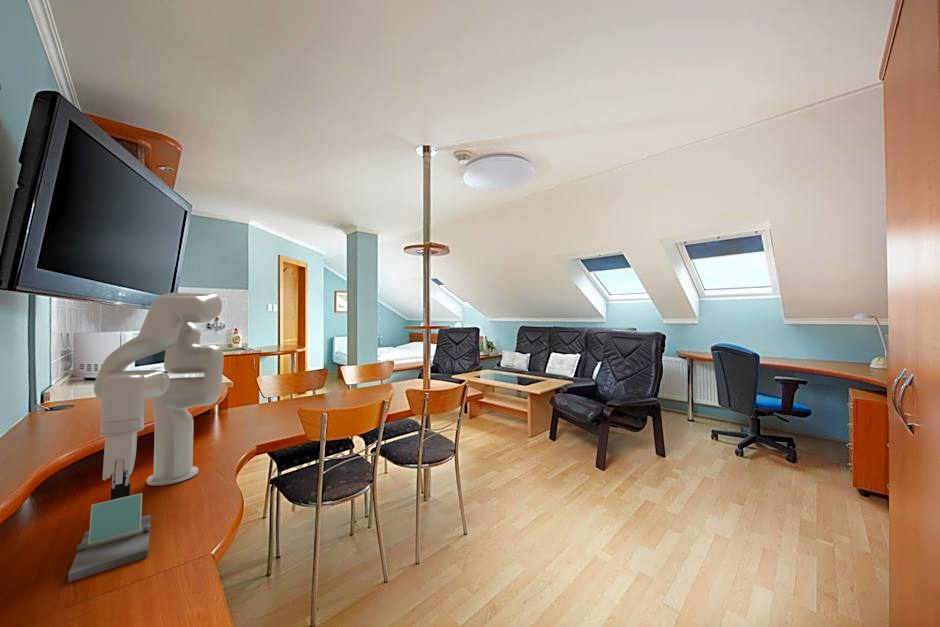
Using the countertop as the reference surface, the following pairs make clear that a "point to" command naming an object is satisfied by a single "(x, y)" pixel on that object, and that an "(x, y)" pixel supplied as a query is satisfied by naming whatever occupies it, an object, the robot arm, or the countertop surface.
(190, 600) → the countertop surface
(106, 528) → the tile
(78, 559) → the board
